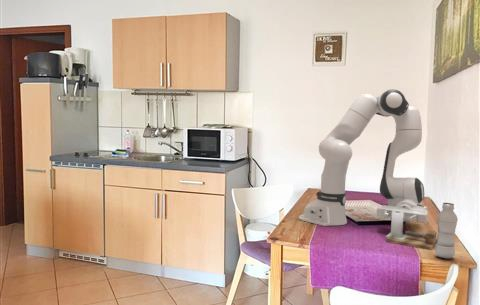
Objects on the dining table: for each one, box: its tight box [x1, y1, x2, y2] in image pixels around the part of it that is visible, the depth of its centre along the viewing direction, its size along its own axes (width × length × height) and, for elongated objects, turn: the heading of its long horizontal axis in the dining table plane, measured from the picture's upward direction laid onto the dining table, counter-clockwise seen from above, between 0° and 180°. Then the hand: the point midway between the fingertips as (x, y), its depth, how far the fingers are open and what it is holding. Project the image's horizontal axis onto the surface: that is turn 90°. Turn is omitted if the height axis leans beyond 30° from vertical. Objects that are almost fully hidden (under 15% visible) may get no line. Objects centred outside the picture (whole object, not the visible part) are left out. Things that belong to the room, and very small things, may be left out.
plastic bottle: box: [434, 202, 459, 260], centre depth 157 cm, size 6×7×20 cm
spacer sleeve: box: [390, 211, 404, 238], centre depth 179 cm, size 4×4×10 cm
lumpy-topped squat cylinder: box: [387, 199, 404, 207], centre depth 238 cm, size 10×13×9 cm
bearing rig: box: [385, 229, 437, 251], centre depth 176 cm, size 18×12×5 cm, turn 56°
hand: (397, 217), depth 178 cm, fingers open, 8 cm apart
